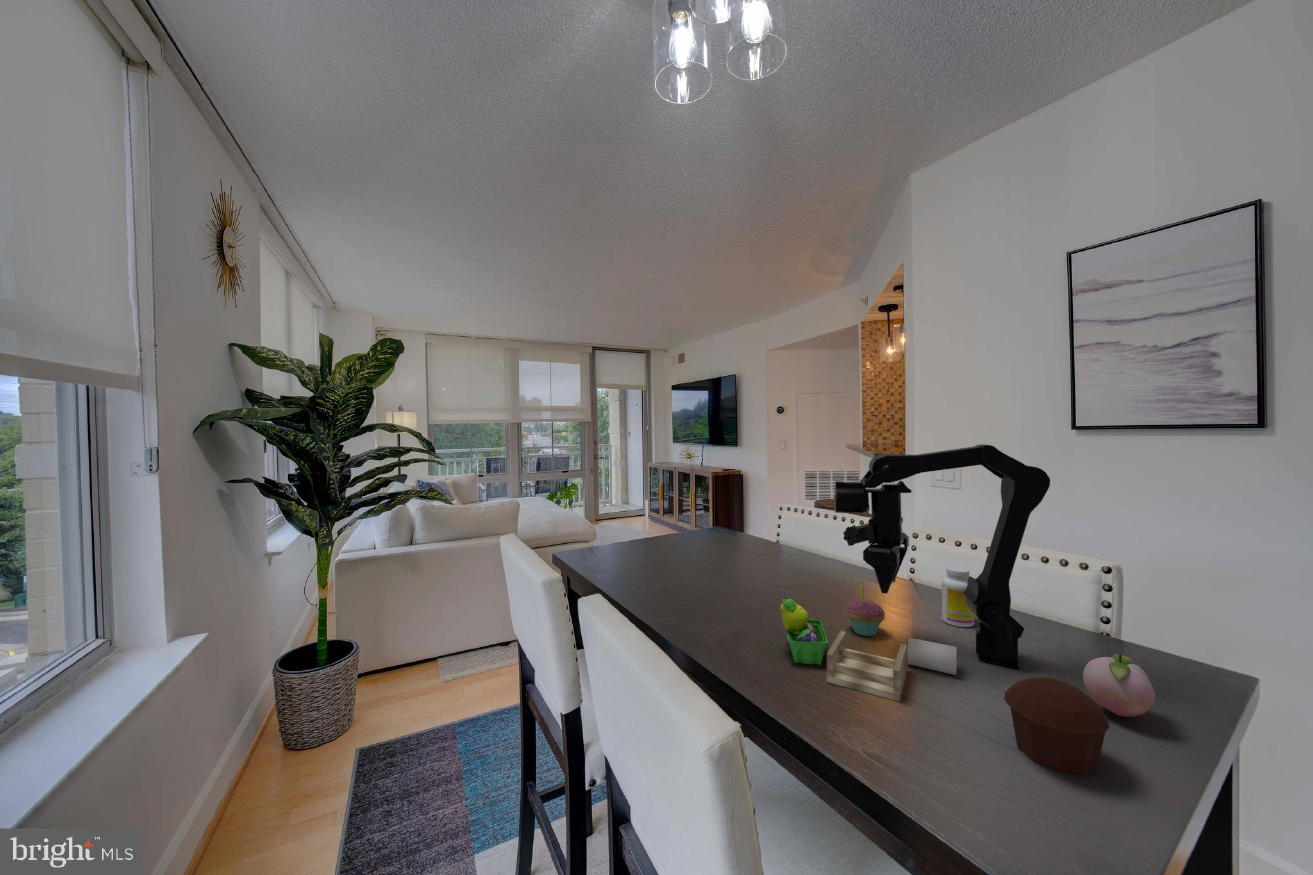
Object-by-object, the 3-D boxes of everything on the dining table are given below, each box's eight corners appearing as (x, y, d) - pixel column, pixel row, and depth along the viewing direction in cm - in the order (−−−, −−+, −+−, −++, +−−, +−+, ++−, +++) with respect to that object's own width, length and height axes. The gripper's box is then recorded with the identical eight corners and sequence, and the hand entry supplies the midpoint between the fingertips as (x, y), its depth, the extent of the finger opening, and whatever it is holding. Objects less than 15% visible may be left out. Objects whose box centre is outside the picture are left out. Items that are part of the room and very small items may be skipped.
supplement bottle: (980, 628, 111) (981, 573, 111) (951, 628, 111) (952, 573, 111) (963, 617, 118) (963, 565, 118) (935, 617, 118) (935, 565, 118)
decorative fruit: (1081, 694, 84) (1081, 637, 83) (1148, 711, 78) (1149, 650, 78) (1084, 719, 76) (1085, 657, 76) (1158, 740, 71) (1159, 673, 71)
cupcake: (879, 643, 104) (879, 588, 104) (839, 633, 109) (839, 580, 109) (888, 629, 111) (888, 578, 110) (850, 621, 116) (850, 571, 116)
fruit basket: (828, 668, 93) (828, 611, 93) (781, 664, 95) (781, 608, 95) (821, 643, 104) (820, 591, 104) (778, 639, 106) (778, 589, 106)
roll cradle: (906, 671, 92) (906, 644, 92) (899, 701, 82) (899, 671, 82) (840, 655, 98) (840, 630, 98) (826, 681, 88) (826, 653, 88)
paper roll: (956, 668, 93) (957, 642, 93) (956, 680, 89) (956, 653, 89) (909, 658, 97) (909, 633, 97) (906, 668, 93) (906, 642, 93)
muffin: (1060, 728, 74) (1060, 664, 74) (1133, 781, 63) (1134, 705, 63) (985, 730, 74) (985, 666, 74) (1046, 784, 63) (1046, 708, 62)
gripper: (855, 505, 114) (857, 570, 114) (835, 518, 99) (837, 593, 99) (908, 507, 108) (910, 577, 108) (895, 522, 92) (897, 602, 93)
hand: (888, 586), depth 102 cm, fingers open, 9 cm apart
